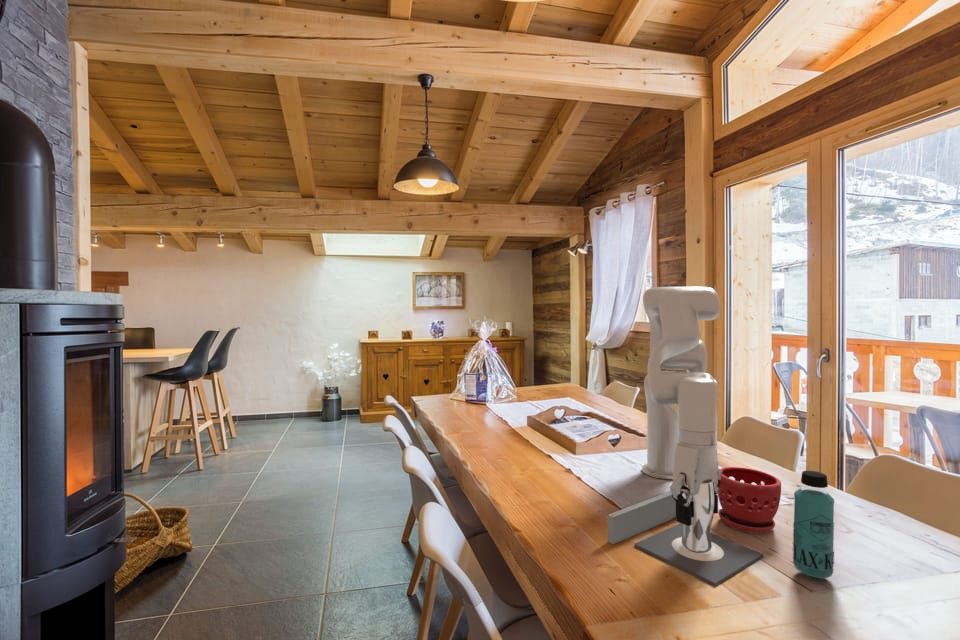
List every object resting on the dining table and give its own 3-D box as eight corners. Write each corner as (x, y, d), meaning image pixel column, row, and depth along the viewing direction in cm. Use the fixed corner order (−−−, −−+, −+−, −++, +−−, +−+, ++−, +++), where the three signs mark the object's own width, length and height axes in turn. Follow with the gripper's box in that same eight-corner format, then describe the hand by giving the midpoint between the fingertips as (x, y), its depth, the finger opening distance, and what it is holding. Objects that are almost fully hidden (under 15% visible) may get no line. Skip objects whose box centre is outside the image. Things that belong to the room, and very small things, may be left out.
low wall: (682, 510, 120) (682, 486, 120) (687, 512, 119) (687, 488, 119) (607, 541, 105) (607, 514, 104) (613, 544, 103) (613, 517, 103)
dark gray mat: (683, 524, 112) (683, 521, 112) (763, 556, 97) (763, 553, 97) (634, 546, 102) (634, 543, 102) (715, 586, 87) (715, 582, 87)
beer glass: (719, 558, 96) (719, 485, 95) (682, 554, 97) (682, 482, 97) (709, 541, 103) (709, 472, 102) (675, 538, 104) (675, 471, 104)
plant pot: (758, 543, 103) (758, 489, 102) (704, 520, 114) (704, 471, 114) (793, 530, 109) (793, 478, 109) (739, 509, 120) (739, 462, 120)
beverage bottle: (784, 568, 93) (784, 467, 92) (816, 566, 94) (816, 466, 93) (810, 588, 86) (810, 479, 86) (844, 585, 87) (844, 478, 87)
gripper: (703, 426, 107) (703, 501, 108) (656, 439, 98) (656, 521, 98) (736, 433, 101) (736, 513, 101) (689, 448, 91) (689, 535, 92)
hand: (697, 517), depth 100 cm, fingers open, 9 cm apart
